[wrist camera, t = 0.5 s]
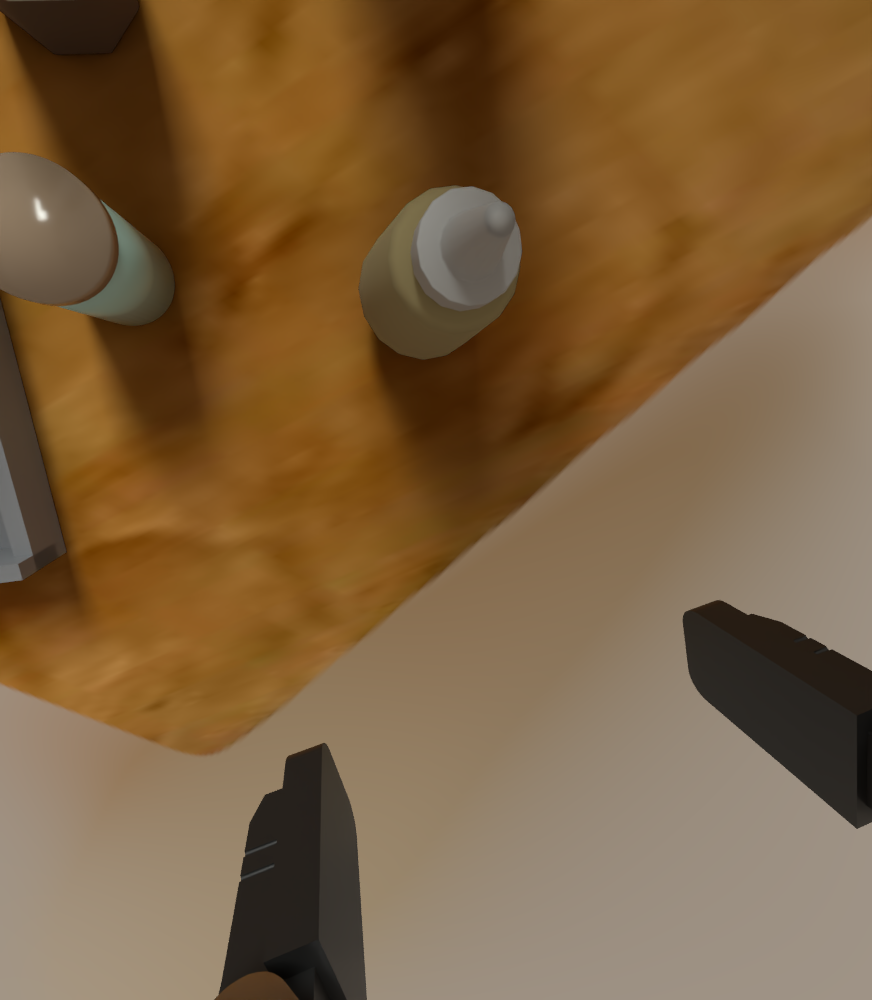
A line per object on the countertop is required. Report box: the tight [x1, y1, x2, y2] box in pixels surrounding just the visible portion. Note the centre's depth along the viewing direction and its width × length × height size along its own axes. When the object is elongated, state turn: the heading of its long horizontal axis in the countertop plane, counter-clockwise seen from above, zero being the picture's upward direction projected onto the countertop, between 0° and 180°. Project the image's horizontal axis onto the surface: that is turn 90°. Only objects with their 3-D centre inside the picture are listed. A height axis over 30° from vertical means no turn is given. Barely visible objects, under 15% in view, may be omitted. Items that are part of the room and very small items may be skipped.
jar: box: [0, 152, 175, 326], centre depth 26 cm, size 6×6×10 cm
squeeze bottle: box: [359, 185, 522, 360], centre depth 26 cm, size 8×8×18 cm
